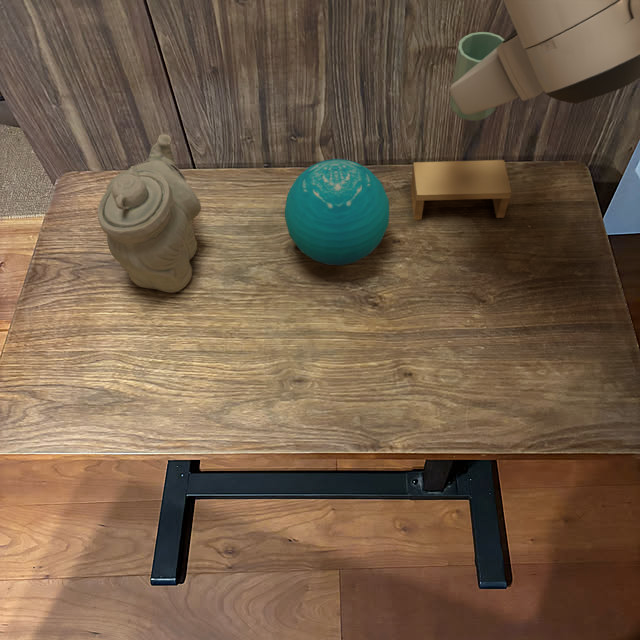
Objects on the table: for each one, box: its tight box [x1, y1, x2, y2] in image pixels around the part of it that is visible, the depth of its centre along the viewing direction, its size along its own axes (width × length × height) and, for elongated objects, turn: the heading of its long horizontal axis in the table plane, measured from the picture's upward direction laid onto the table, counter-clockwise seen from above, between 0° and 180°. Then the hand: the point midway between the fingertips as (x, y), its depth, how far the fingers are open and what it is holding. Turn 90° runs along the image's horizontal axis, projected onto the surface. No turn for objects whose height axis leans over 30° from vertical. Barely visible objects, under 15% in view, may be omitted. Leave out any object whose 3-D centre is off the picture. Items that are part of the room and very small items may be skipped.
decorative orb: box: [284, 158, 390, 266], centre depth 89 cm, size 15×15×15 cm
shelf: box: [410, 159, 512, 221], centre depth 97 cm, size 14×7×6 cm, turn 90°
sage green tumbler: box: [449, 31, 506, 122], centre depth 80 cm, size 6×6×9 cm
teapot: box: [97, 133, 202, 293], centre depth 88 cm, size 16×15×19 cm
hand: (474, 74), depth 79 cm, fingers closed on sage green tumbler, 6 cm apart
